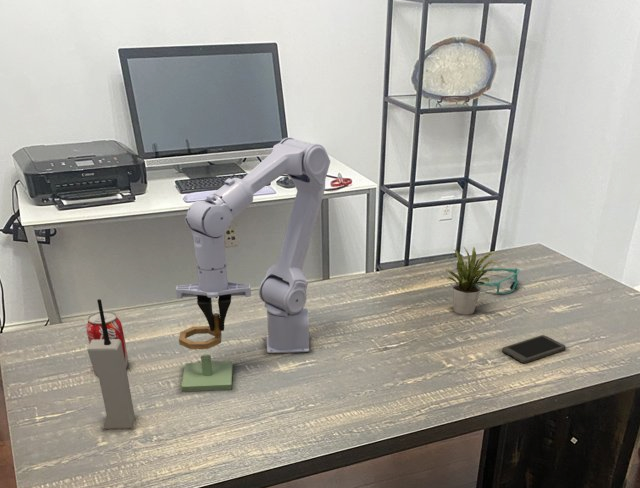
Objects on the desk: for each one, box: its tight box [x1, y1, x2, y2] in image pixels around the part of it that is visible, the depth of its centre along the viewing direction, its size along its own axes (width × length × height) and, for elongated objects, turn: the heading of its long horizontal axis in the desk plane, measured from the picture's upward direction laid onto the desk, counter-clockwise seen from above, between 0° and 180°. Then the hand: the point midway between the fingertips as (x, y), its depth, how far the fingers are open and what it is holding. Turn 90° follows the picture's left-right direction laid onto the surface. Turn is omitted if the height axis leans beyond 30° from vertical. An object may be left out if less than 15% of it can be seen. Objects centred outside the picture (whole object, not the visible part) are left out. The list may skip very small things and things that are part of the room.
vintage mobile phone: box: [86, 298, 136, 430], centre depth 120 cm, size 4×5×25 cm
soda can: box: [85, 310, 129, 368], centre depth 142 cm, size 7×7×12 cm
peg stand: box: [180, 353, 234, 392], centre depth 141 cm, size 10×10×5 cm
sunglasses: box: [476, 267, 521, 295], centre depth 189 cm, size 14×15×5 cm
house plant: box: [444, 247, 500, 316], centre depth 170 cm, size 14×14×16 cm
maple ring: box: [178, 312, 223, 350], centre depth 139 cm, size 8×8×6 cm
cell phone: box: [501, 334, 566, 364], centre depth 156 cm, size 7×14×1 cm, turn 123°
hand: (217, 328), depth 140 cm, fingers closed on maple ring
